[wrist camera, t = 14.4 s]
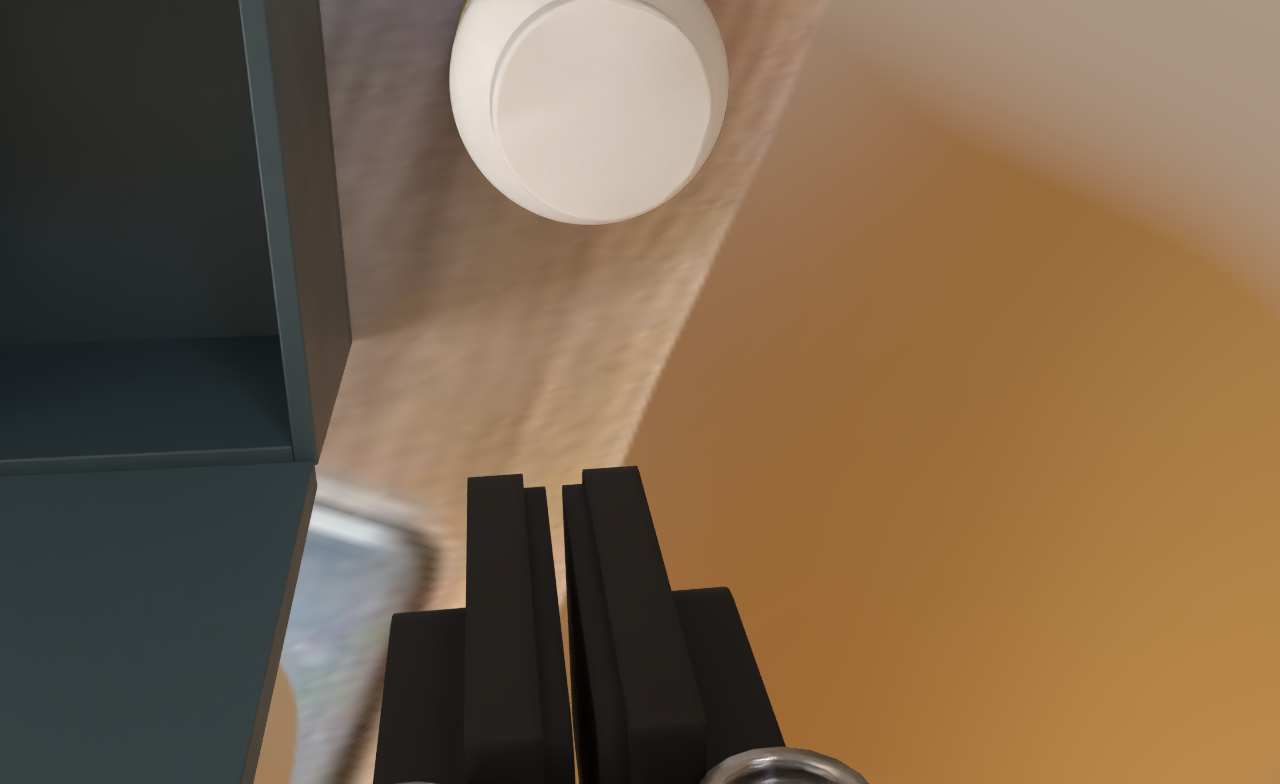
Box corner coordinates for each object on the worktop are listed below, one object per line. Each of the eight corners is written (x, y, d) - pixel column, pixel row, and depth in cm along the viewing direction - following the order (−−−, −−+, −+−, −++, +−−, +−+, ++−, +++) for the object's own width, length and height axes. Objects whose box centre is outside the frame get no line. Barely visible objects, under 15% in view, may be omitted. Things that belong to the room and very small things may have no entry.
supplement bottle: (719, 24, 37) (827, 92, 25) (584, 190, 39) (628, 327, 27) (548, -128, 35) (580, -129, 23) (413, 55, 36) (379, 140, 25)
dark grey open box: (-200, -168, 32) (-436, -183, 24) (303, -164, 34) (245, -177, 25) (-70, 358, 38) (-223, 492, 30) (352, 342, 40) (318, 466, 31)
